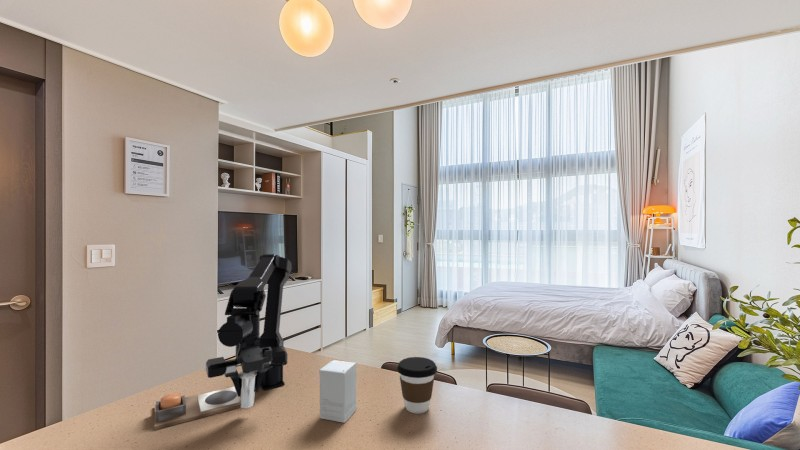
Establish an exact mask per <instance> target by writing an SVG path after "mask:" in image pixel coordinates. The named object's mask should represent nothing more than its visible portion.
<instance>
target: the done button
mask: <svg viewBox="0 0 800 450" xmlns="http://www.w3.org/2000/svg"><path fill="white" fill-rule="evenodd" d="M181 396H182V394H181V393H179V392H178V393H177V392H174V393H168V394H165V395H164V396H162V397H161V398H160V401H161V410H163V409H168V408H172V407H176V406H180V405H181Z"/></svg>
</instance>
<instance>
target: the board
mask: <svg viewBox="0 0 800 450" xmlns="http://www.w3.org/2000/svg"><path fill="white" fill-rule="evenodd" d="M239 408H241V407H240V400H239V397H238V395H237V392H236V390H235V387H234V385H233V386H229V387H225V388H219V389H216V390H211V391H207V392H203V393H199V394H193V395H190V396H185V395H181V405H180V406H176V407H172V408H168V409H163V410H161V400H159V401H155V404H154V421H153V423H154V424H153V429H154V431H156V430H159V429H164V428H167V427H171V426H175V425H179V424H183V423H186V422H190V421H194V420H198V419H201V418H205V417H210V416H213V415H216V414H217V415H218V414H220V413H221V414H222V413H224V412H228V411H233V410H236V409H239Z"/></svg>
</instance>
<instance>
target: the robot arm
mask: <svg viewBox="0 0 800 450" xmlns="http://www.w3.org/2000/svg"><path fill="white" fill-rule="evenodd" d="M292 266H293V265H292V261H290V259H288V258H286V257H283V256H280V255H279V254H276V253H263V254H261V255H260V256H259V260H258V262H257V263H256V265H255V267H254V268H253V270H252V271H251V272H250V274H249V276H248V277H247V278H246V279H243V280H241V281H239V282H238V283H237V284H236V285H235V286H234V287H233V289H232V290H231V292H230V294H229V298H228V302H227V303H226V308H225V312H224V316H227V317H226V322H225V323H223V324H222V325H221V326H220V327H219V329H218V332H217V337H218V341H219V342H220V344H222V345H223V346H225V347H228V348H233V347H235V358H233V359H229V360H226V359H225V358H224V356H221V357H220V356H219V357H216V358H215V357H214V358H209V359H208V360H207V361H206V362H205V372H206V375H207V378H210V379H211V378H217V377H221V376H224V377H225V378H230V379H231V381H232V384H233V386H234V387H235V390H236V392H237V395H238V397H240V386H239V378H238V376H239V373H240V372H238V370H237V368H238V367H241V371H243V372H244V373H250V372H252V371H257V370H258V371H257V378H256V386H255V393H258V391H259V390H260V387H261V389H262V390H263V391H264V390H265V391H266V390H269V389H274V388H276V387H280V386H281V387H283V386H285V381H284V366H285V365H288V352H287V350H286V348H285V346H284V343H285V341H284V339H283V336H282V335H281V333H280V326H281V325H280V324H281V314H282V302H283V293H284V292H283V291H284V286H285V285H286V283H287V281H288V280H289V279H290V274H291V272H292V269H293V267H292ZM266 284H267V293H265V292H266V291H265V286H266ZM265 300H266V301H265ZM265 302H266V304H265ZM264 304H265V311H264V313H265V314H264V324H263V332H262V334H260V331H261V330H260V325H261V324H260V322H261V320H260V316H261V315H260V312H261V311H263V306H264Z"/></svg>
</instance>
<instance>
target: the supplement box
mask: <svg viewBox="0 0 800 450" xmlns="http://www.w3.org/2000/svg"><path fill="white" fill-rule="evenodd" d="M318 371H319V418H320V420H321V419H322V420H328V421H331V422H339V423H343V424H345V423H346V422H348V420H349V419H350V417H351V416H353V414H354V413H355V412H356V411H357V408H358V407H357V404H358V403H357V402H358V401H357V362H353V361H352V362H351V361H342V360H336V359H332V360H331V361H330V362H328V363H327V364H326V365H324V366H323V367H321V368H320V369H319V370H318Z"/></svg>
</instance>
